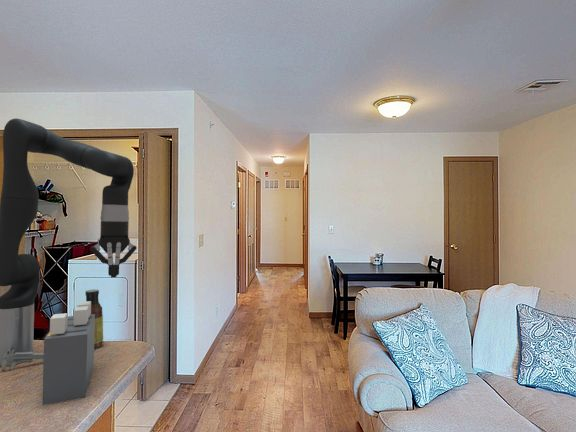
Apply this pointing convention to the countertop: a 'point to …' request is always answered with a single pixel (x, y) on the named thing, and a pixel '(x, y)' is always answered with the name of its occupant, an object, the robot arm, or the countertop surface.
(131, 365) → the countertop surface
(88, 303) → the tab back
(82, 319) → the tab middle
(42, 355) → the caliper
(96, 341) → the sauce bottle
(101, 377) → the countertop surface
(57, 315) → the tab front
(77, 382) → the switch box
